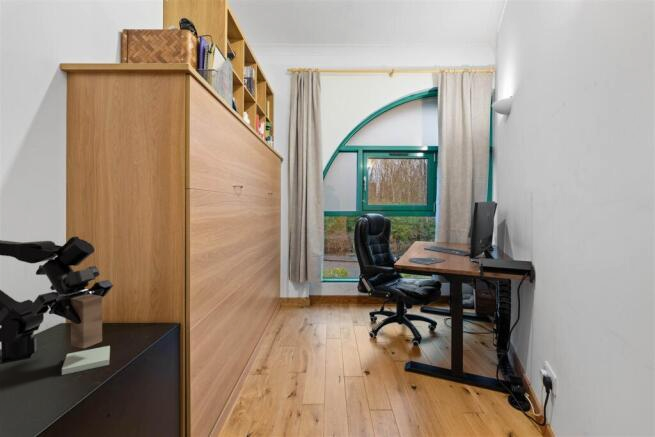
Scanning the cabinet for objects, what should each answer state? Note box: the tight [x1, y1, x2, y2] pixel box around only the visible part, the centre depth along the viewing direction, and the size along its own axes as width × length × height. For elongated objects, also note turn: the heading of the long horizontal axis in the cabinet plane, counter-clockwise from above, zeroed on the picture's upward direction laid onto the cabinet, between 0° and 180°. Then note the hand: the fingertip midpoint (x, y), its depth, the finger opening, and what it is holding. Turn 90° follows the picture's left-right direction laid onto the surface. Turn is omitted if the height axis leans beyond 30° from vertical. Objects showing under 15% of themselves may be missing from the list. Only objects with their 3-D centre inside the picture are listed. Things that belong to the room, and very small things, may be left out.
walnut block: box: [70, 294, 103, 350], centre depth 88 cm, size 5×5×13 cm
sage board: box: [61, 345, 111, 376], centre depth 88 cm, size 10×10×2 cm
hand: (90, 319), depth 88 cm, fingers closed on walnut block, 5 cm apart
